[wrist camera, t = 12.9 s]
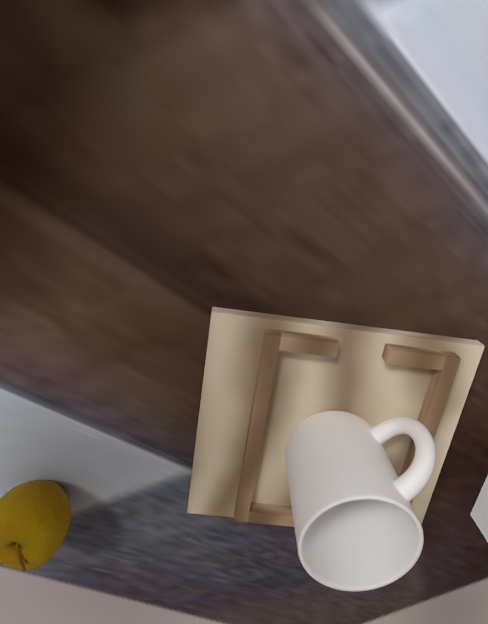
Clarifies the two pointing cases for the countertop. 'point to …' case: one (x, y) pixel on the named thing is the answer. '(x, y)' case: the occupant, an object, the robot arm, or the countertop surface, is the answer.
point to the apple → (33, 523)
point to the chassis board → (313, 401)
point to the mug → (355, 499)
